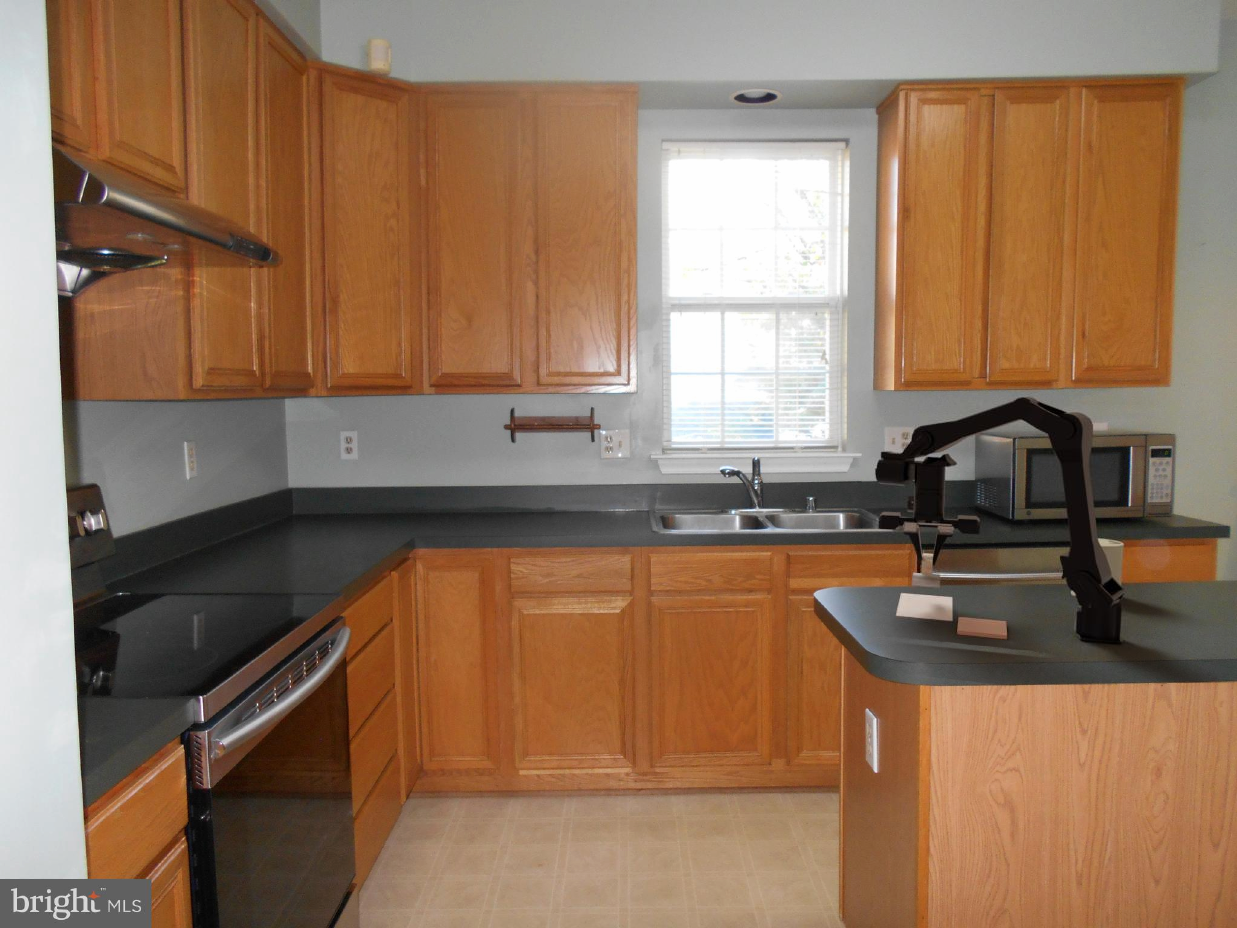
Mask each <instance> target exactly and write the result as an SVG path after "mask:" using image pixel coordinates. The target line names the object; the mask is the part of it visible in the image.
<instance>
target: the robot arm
mask: <svg viewBox="0 0 1237 928" xmlns="http://www.w3.org/2000/svg"><path fill="white" fill-rule="evenodd" d="M1019 421H1023V422H1025V423H1027V424H1028V425H1030V426H1031V427H1033V428H1035V429H1036V430H1038V431H1040V432H1042V433H1045V434H1047V436H1048V439H1049V442H1050V445H1051V449H1052V451H1053V453H1054V454H1055V457H1056V458H1057V460H1058V462H1059V464H1060V469H1061V477H1062V483H1063V491H1064V498H1065V499H1064V500H1065V507H1066V508H1065V509H1066V516H1067V523H1068V533H1069V541H1070V545H1069V546H1070V547H1069V550H1068V551H1067V552H1065V553H1063V554H1060V556H1059V561H1060V564H1061V565H1060V566H1061V567H1062V575H1061V579H1062V580H1064V579H1065V583H1066V586H1067V588H1068V589H1069V590H1070V591H1073V592H1074V593H1075V595H1076V597H1075V598H1076V600H1077V603H1078V607H1075V608H1074V621H1073V622H1074V623H1073V630H1074V633H1075V634H1076V635H1077V636H1078V638H1079V640H1080V641H1087V642H1098V643H1106V644H1107V643H1110V644H1119V645H1120V644H1121V645H1122V644H1123V639H1122V638H1121V633H1122V614H1123V613H1122V611H1123V606H1122V605H1121V604H1120V601H1122V599H1123V598H1124V595H1125V593H1126V590H1125V588H1124V587H1123V586H1122V584H1121V585H1120V584H1119V583H1118V582H1117V581H1116V580H1115V579H1114V578H1113V577H1112V573H1111V570H1110V567H1109V563H1108V560H1107V557H1106V555H1105V553H1104V551H1103V549H1102V547H1101V545H1100V543H1099V541H1098V538H1099V537H1098V530H1097V521H1096V514H1095V505H1094V498H1093V488H1092V483H1091V482H1092V481H1091V473H1090V466H1089V465H1090V464H1089V463H1090V462H1089V460H1090V457H1091V452H1092V447H1093V439H1094V437H1093V435H1094V423H1093V421H1092V419H1091V418H1090V417H1088V416H1087V415H1086V414H1085V413H1082V412H1080V411H1079V412H1077V411H1075V412H1074V411H1073V412H1068V411H1065V410H1063V409H1060V408H1058V407H1056V406H1055V407H1054V406H1052V405H1049V404H1048V403H1047V404H1046V403H1044V402H1042V401H1040V400H1037V399H1036V398H1034V397H1033V396H1032V397H1031V396H1022V397H1017V398H1016V399H1014V400H1012V401H1009V402H1005V403H1004V404H1000V405H997V406H995V407H991V408H988V409H987V410H986V409H985V410H983V411H980V412H977V413H974V414H971V415H968V416H966V417H962V418H958V419H957V420H952V421H944V422H938V423H932V424H925V425H919V426H918V427H916V428H915V429H914V430H913V432H912V434H911V438H910V439H911V440H910V441H909V443H908V444H907V445H906V447H905V448H904V449H903V451H902V452H895V451H891V450H883V451H881V452H880V458H879V459H878V461H877V464H876V467H875V469H874V474H875V475H874V476H875V479H876V480H875V481H876V482H877V483H878V484H880V485H890V486H891V485H892V486H902V487H904V486H905V487H907V486H909V485H910V484H911V483H912V482H914V483H913V484H914V487H913V495H907V502H906V503H907V505H906V510H907V511H906V512H909V513H913V516H901V512H899V511H898V512H894V511H882V512H881V513H880V514H879V517H878V529H879V530H887V531H888V530H889V531H895V530H896V529H898V527H903V532H902V535H906V536H908V537H909V539H910V541H911V543H912V545H913V548H914V551H915V553H916V557H917V560H918V563H919V566H922V556H923V552H922V551H923V550H922V540H921V531H920V528H921V527H922V528H933V529H935V528H936V529H937V530H936V537H935V542H934V548H933V553H932V554H933V567H935V566H936V562H937V560H938V558H939V555H940V552H941V550H942V548H943V546H944V544H945V542H946V541H947V539H948V538H953V537H954V531H955V530H956V529H957V530H958V531H959V532H960V533H961V534H962V535H963V534H964V535H965V534H967V535H980V534H981V533H980V529H981V528H980V527H981V523H980V521H981V520H980V518H979V517H978V516H977V515H964V514H963V515H961V514H960V515H959V514H958V515H957V519H956V518H945V506H946V505H945V494H946V493H945V492H946V468H950V467H955V466H957V464H958V463H957V461H955V460H954V459H953V458H952V457H951V455H950V454H949V453H944V454H942V455H941V456H929V455H931V454H937V453H943V452H944V451H946V450H949V449H950V448H952V447H954V446H955V445H958V444H959V443H960V442H962V441H964V440H966V439H967V438H970V437H973V436H976V435H980V434H983V433H986V432H988V431H991V430H994V429H998V428H1001V427H1004V426H1007V425H1009V424H1012V423H1016V422H1019ZM923 457H924V458H923ZM919 458H923V460H916V459H919Z"/></svg>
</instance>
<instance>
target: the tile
mask: <svg viewBox="0 0 1237 928" xmlns="http://www.w3.org/2000/svg"><path fill="white" fill-rule="evenodd" d="M1007 630H1008V629H1007V621H1006V620H995V619H994V620H993V619H984V618H974V617H973V618H972V617H964V616H961V617H960V616H959V617H958V622H957V631H956V634H957V635H961V636H971V637H980V638H981V637H982V638H990V639H991V638H992V639H1001V640H1007V639H1008V632H1007Z"/></svg>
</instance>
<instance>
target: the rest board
mask: <svg viewBox="0 0 1237 928" xmlns="http://www.w3.org/2000/svg"><path fill="white" fill-rule="evenodd" d="M895 617H903V618H914V619H915V618H916V619H917V618H918V619H926V620H937V621H947V622H953V596H943V595H942V596H941V595H940V596H938V595H931V594H930V595H928V594H915V593H905V592H901V593H900V597H899V600H898V605H897V608H896V614H895Z"/></svg>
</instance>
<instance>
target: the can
mask: <svg viewBox="0 0 1237 928" xmlns="http://www.w3.org/2000/svg"><path fill="white" fill-rule="evenodd" d="M1098 541H1099V543H1100V545H1101V547H1102V549H1103V551H1104V553H1105V555H1106V557H1107V560H1108V563H1109V567H1110V570H1111V573H1112V577H1113V578H1114V579H1115V580H1116V581H1117V582H1118V583H1119V584H1120V585H1121V586H1122V575H1123V573H1122V570H1123V558H1124V557H1123V555H1124V548H1125V547H1124V546H1125V545H1124V543H1123V542H1122V541H1119V540H1114V539H1110V538H1109V539H1108V538H1099V537H1098ZM1070 594H1071V596H1073V597H1075V596H1076V595H1075V593H1074V592H1073V591H1072V590H1070Z"/></svg>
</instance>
